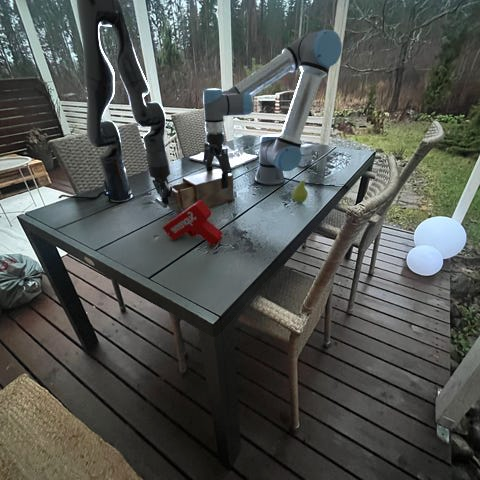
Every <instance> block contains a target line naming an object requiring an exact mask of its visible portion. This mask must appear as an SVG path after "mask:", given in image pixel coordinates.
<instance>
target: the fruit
mask: <svg viewBox="0 0 480 480" xmlns="http://www.w3.org/2000/svg"><path fill="white" fill-rule="evenodd" d="M310 177H311V175H310V174H309V175H308V176H307V177H305V179H302V180H300V181H301V182H300V183H298V184H297V185H296V186H295V187H294V188H293V190H292V191H291V198H292V200H293V201H294V202H295V203H297V204H301V203H304V202H305V201H306V200H307V198H308V196H309V195H308V190H307V189H306V184H305V182H306V180H308V179H309V178H310Z"/></svg>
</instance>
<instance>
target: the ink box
mask: <svg viewBox="0 0 480 480" xmlns="http://www.w3.org/2000/svg"><path fill="white" fill-rule="evenodd" d="M313 148H314V144H312V143H311V144H310V143H304V144H301V147H300V151H301V154H302V157H301V161H300V163H299V165H298V166H297V167H300V168H304V167H306V166H309V165H311V164H312V156H313ZM310 162H311V163H310ZM308 163H309V164H308ZM305 164H307V165H305ZM301 165H304V166H301Z"/></svg>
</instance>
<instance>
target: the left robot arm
mask: <svg viewBox="0 0 480 480" xmlns="http://www.w3.org/2000/svg"><path fill="white" fill-rule="evenodd" d="M76 6H77V7H76V9H77V16H78V21H79V28H80V35H81V41H82V51H83V65H84V82H85V92H86V135H87V138H88V141H89V144H90V145H91V146H93V148H104V147H106V150H104V151H103V152H102V153H101V154H99V156H98V160H99V164H100V168H101V170H102V171H101V172H102V173H103V178H104V180H103V185H104V188H105V189H104V190H103V191H101V192H99V193H98V194H97V195H96V196H85V195H83V196H82V195H81V196H78V195H67V194H60V195H59V196H58V199H62V198H68V199H87V200H97V199H99V198H100V197H101V196H102V195H104V197H107V198H108V201H109V202H112V203H117V204H119V203H124V202H125V203H126V202H128V201H130V200H131V199H133V194H132V189H131V186H130V183H129V182H130V181H129V179H128V174H127V170H126V166H125V162H124V155H123V154H124V153H123V148H122V147H123V146H122V142H121V136H120V132H119V129H118V127H117V125H116V124H115V123H114V122H113V121H111V120H103V116H104V115H105V111H106V110H107V108H108V107H109V105H110V103H111V101H112V99H113V98H114V95H115V71H114V69H113V66H112V65H111V63H110V61H109V59H108V57H107V56H106V53H105V52H104V50H103V48H102V44H101V39H100V26H101V27H110V30H111V31H112V33H113V35H114V37H115V40H116V48H117V49H116V50H117V51H116V54H117V55H116V66H117V71H118V74H119V77H120V79H121V81H122V83H123V86H124V88H125V90H126V92H127V95H128V100H129V106H130V109H131V110H130V111H131V114H132V118H133V119H134V121H135V123H136V124H137V125H138V126H140V127H141V128H148V127H149V130H148V132H146V133H145V134H143V144H144V149H145V154H146V155H145V157H146V162H147V167H148V172H149V176H150V177H151V178H153V179H152V184H153V186H154V189H155V190H156V193H157V194H158V195H159V197H160V199H161V201H162V202H163V203H165V204H166V205H167V204H169V201H168V197H170V196H171V193H172V186H170V185H169V180H168V177H169V176H170V175H171V169H170V163H169V156H168V152H167V147H166V143H165V133H166V132H165V130H166V113H165V110H164V108H163V106H162V105H161V104H160V103H159V102H157V101H149V102H145V99H144V97H145V96H146V95H148V94H149V92H150V87H149V84H148V82H147V80H146V77H145V75H144V73H143V70H142V68H141V66H140V63H139V61H138V58H137V55H136V52H135V51H136V50H135V48H134V45H133V41H132V37H131V34H130V30H129V27H128V24H127V20H126V17H125V13H124V10H123V7H122V4H121V2H120V0H76ZM169 186H170V187H169Z"/></svg>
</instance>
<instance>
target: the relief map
mask: <svg viewBox="0 0 480 480" xmlns="http://www.w3.org/2000/svg"><path fill="white" fill-rule="evenodd" d="M222 146H223V148H224V149H225V148H227V149H228V157H229V162H230V166H231V170H233V169H235V168H237V167H240V166H241V165H244V164H247V163H250V162H252V161H254V160H256V159H258V155H256V154H249V153H246V152H245V151H244V149H242V148H238V149H235V150H233V149H231V148H230V147H229V146H228V145H227V144H225V145H224V143H223V144H222ZM220 156H221V155H220ZM203 157H204V151H203V152H202V151H201V152H200V153H198V154H196V155H192V156H189V160H193V161H196V162H201V163H203ZM206 161H207V160H206ZM213 165H214V166H217V167H220V164H219V162H218V159H216V157H215V156H214V158H213V161H212V166H213Z"/></svg>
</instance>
